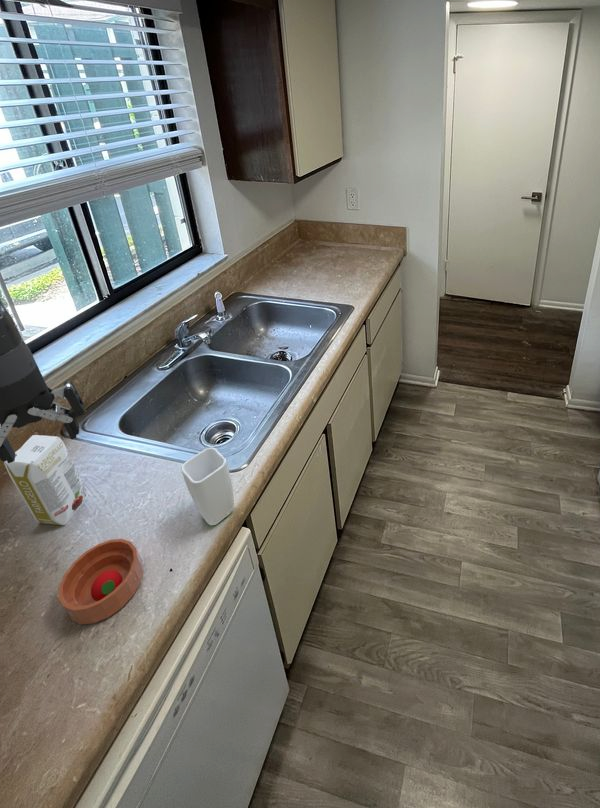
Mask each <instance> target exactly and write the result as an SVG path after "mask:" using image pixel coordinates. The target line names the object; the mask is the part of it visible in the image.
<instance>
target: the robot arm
mask: <svg viewBox="0 0 600 808" xmlns="http://www.w3.org/2000/svg"><path fill="white" fill-rule="evenodd" d="M57 397H58V398H60V399H61V400H63V401H67V402H68V404H69V406H70V407H71V408H70V407H66V406H63V405H62V404H61V403H60V402H57V401H54V400H55V398H57ZM84 414H85V403H84V401H83V399H82V398H81V396H80V394H79V392H78V390H77V388H76V386H75V385H74V383H73V382H72V381H71V380H69V381H65V382H64V383H63V385H62V386H60V387H57V388H55V389H52V388H50V387H48V385H47V382H46V381H45V379H44V377H43V375H42V372H41V370H40V368H39V366H38V364H37V362H36V359H35V357H34V356H33V353H32V351H31V349H30V347H29V346H28V344H27V343H26V342H25V340H24V339H23V337H22V335H21V333H20V330H19V328H18V327H17V324H16V322H15V321H14V318H13V317H12V315H11V314H10V312H9V311H8V310H7V308H6V307H5V306H4V304H3V302H2V299H0V461H2V462H3V463H4V462H5V461H7V462H8V463H11V462H14V461H15V452H16V451H15V450H14V448H13V447H12V444H11V443H10V440H9V439H8V438H7V437H8V435H9V433H10V432H11V430H12V428H17V429H20V428H23V427H25V426H27V425H29V424H33V423H37V422H41V421H42V419H46V420H49V421H53V422H55V421H58V422H61V423H63V425H64V428H65V430H66V432H67V434H68V436H69V438H70V440H74V439H77V436H78V435H79V434H80V425H79V422H78V421H77V417H81V416H83V415H84Z"/></svg>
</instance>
